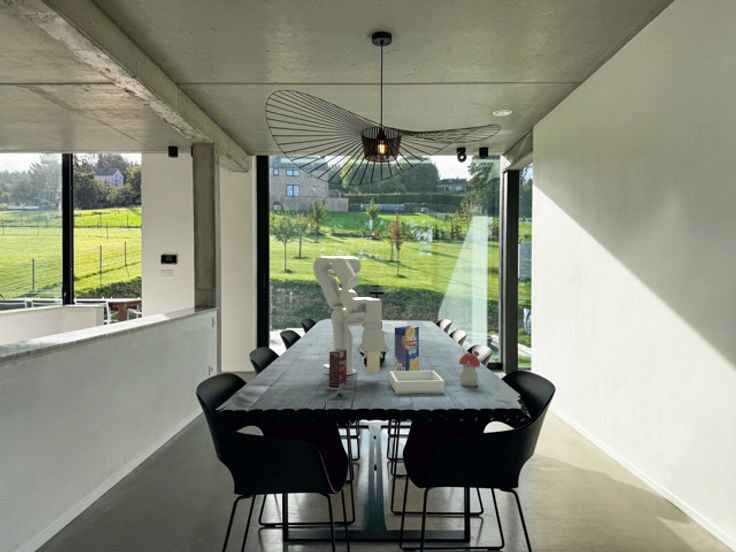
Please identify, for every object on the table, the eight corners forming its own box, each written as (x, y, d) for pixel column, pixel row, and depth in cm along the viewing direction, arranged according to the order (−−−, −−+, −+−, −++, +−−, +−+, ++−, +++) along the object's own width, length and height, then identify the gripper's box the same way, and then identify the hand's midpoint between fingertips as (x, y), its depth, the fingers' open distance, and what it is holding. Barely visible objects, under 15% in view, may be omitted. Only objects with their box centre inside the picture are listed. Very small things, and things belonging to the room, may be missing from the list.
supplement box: (339, 390, 225) (339, 352, 225) (328, 389, 227) (328, 351, 226) (347, 386, 233) (347, 349, 233) (336, 385, 235) (336, 348, 234)
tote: (395, 394, 218) (395, 381, 218) (389, 382, 240) (389, 371, 240) (444, 393, 220) (444, 380, 220) (434, 381, 242) (434, 370, 242)
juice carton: (367, 373, 240) (367, 350, 240) (366, 370, 246) (366, 348, 245) (379, 372, 240) (379, 350, 240) (378, 370, 246) (378, 348, 246)
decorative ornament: (482, 385, 233) (482, 351, 233) (473, 388, 229) (473, 352, 229) (465, 382, 240) (465, 348, 240) (456, 384, 236) (456, 350, 236)
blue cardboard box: (418, 371, 266) (418, 326, 266) (406, 374, 258) (406, 328, 257) (407, 369, 270) (407, 325, 270) (394, 372, 262) (394, 327, 261)
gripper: (354, 327, 238) (354, 368, 239) (393, 327, 239) (392, 367, 240) (353, 325, 246) (353, 365, 246) (391, 325, 247) (390, 364, 247)
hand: (372, 366), depth 243 cm, fingers closed on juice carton, 5 cm apart
